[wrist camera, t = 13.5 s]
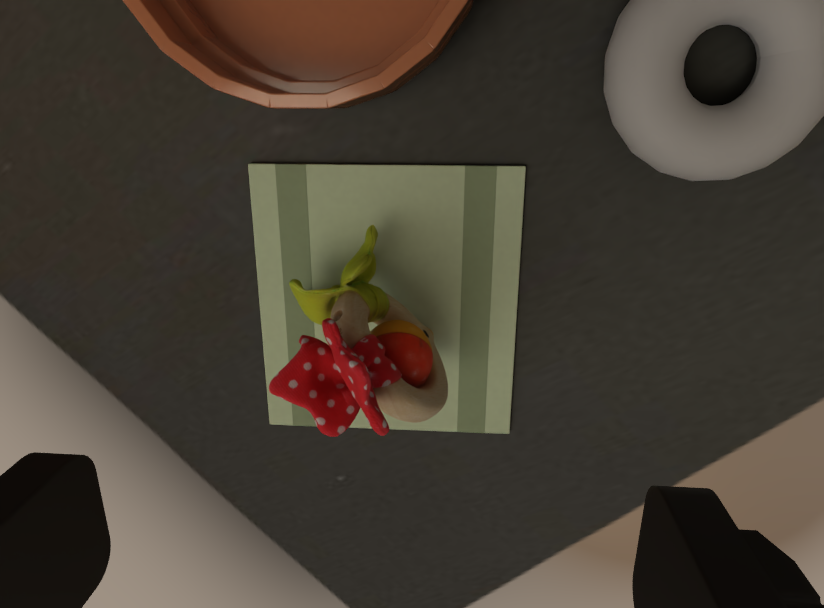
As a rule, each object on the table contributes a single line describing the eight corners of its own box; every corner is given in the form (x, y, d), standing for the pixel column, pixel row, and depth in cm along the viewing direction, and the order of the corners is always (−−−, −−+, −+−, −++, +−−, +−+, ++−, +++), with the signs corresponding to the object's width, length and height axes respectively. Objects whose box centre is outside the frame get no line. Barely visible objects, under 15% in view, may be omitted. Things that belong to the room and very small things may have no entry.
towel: (249, 163, 30) (247, 163, 30) (525, 165, 30) (525, 166, 29) (271, 421, 35) (269, 424, 35) (509, 431, 34) (509, 434, 34)
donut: (559, 27, 28) (646, 215, 30) (571, 14, 24) (669, 227, 26) (773, -103, 25) (851, 110, 28) (819, -135, 22) (903, 110, 24)
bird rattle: (459, 282, 34) (337, 189, 29) (536, 424, 25) (378, 324, 20) (385, 355, 35) (258, 278, 30) (432, 511, 26) (263, 438, 22)
